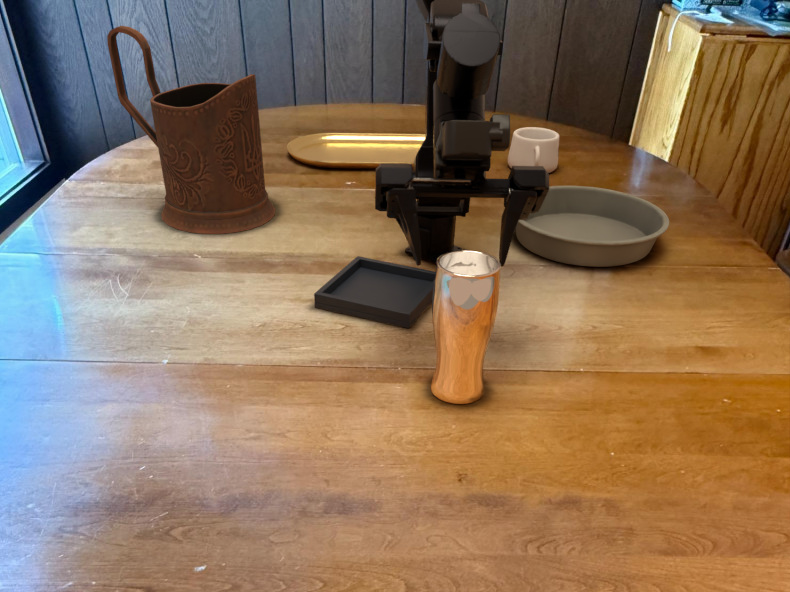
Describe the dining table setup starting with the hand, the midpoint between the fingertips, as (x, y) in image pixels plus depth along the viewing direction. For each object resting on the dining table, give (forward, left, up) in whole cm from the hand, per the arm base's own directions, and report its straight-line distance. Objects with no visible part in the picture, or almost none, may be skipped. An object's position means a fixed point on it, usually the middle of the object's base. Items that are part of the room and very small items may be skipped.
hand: (460, 264), depth 85 cm
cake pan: (-45, -6, -12) cm, 48 cm away
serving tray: (-8, -18, -12) cm, 23 cm away
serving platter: (-56, -57, -12) cm, 81 cm away
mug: (-70, -30, -12) cm, 78 cm away
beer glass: (+5, +4, -12) cm, 14 cm away
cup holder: (-14, -60, -12) cm, 63 cm away
